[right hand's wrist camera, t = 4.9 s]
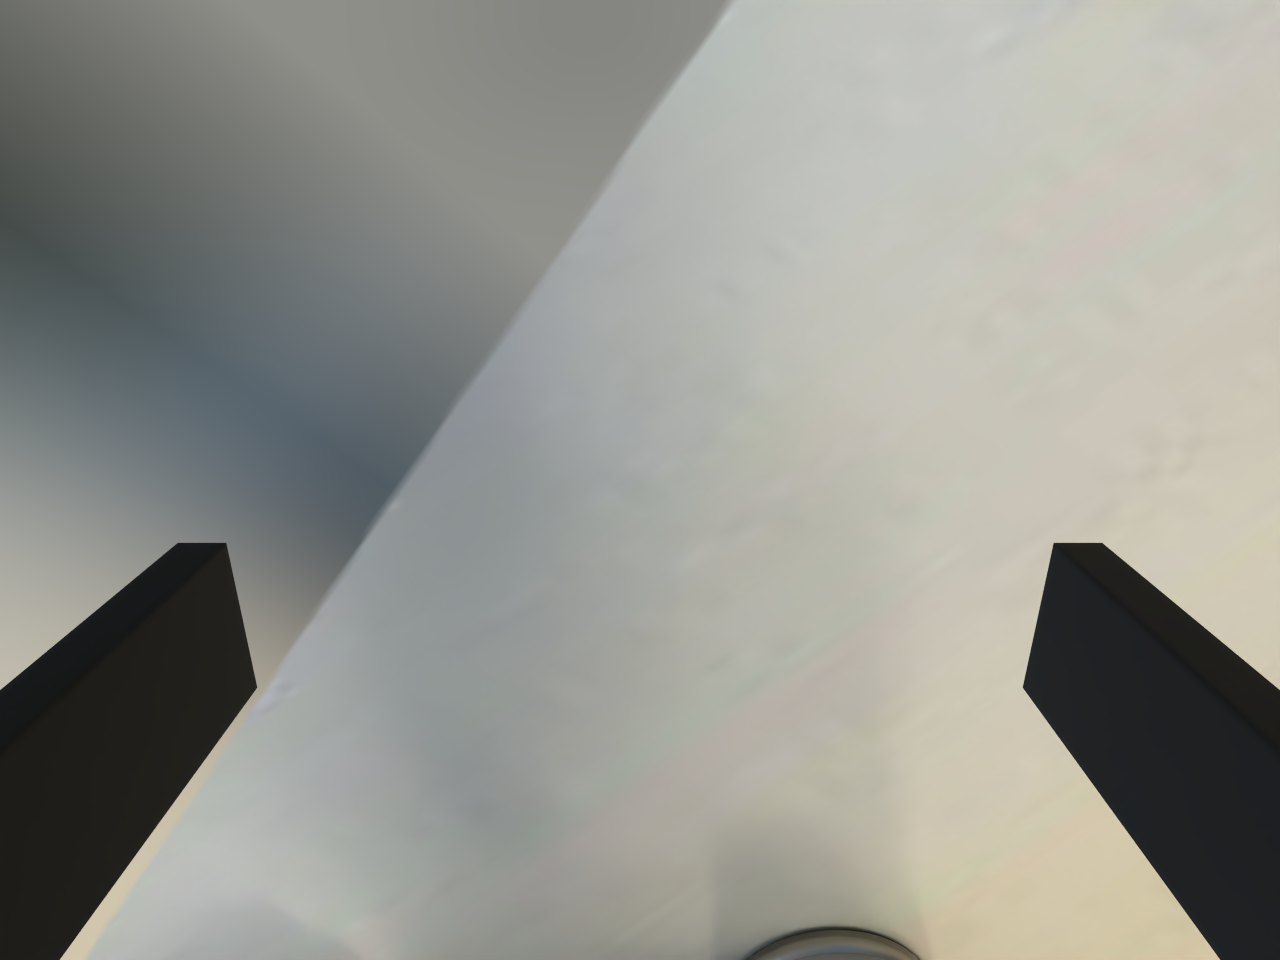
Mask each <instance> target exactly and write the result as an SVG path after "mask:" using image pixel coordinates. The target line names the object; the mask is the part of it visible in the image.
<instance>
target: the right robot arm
mask: <svg viewBox="0 0 1280 960" xmlns="http://www.w3.org/2000/svg"><path fill="white" fill-rule="evenodd" d="M256 688H257V685H256V680H255V675H254V671H253V666H252V661H251V657H250V652H249V647H248V643H247V638H246V633H245V629H244V624H243V619H242V615H241V610H240V605H239V600H238V596H237V591H236V586H235V582H234V577H233V572H232V568H231V563H230V558H229V554H228V549H227V544H226V543H177V544H176V545H175V546H174V547H172V548H171V549H170V550H169V551H168V552H166V553H165V554H164V555H163V556H162V557H160V558H159V559H158V560H157V561H156V562H154V563H153V564H152V565H151V566H150V567H148V568H147V569H146V570H145V571H144V572H142V573H141V574H140V575H139V576H137V577H136V578H135V579H134V580H133V581H131V582H130V583H129V584H128V585H127V586H125V587H124V588H123V589H122V590H121V591H119V592H118V593H117V594H116V595H115V596H113V597H112V598H111V599H110V600H108V601H107V602H106V603H105V604H104V605H102V606H101V607H100V608H99V609H98V610H96V611H95V612H94V613H93V614H92V615H90V616H89V617H88V618H87V619H86V620H84V621H83V622H82V623H81V624H79V625H78V626H77V627H76V628H75V629H74V630H72V631H71V632H70V633H69V634H67V635H66V636H65V637H64V638H63V639H61V640H60V641H59V642H58V643H57V644H55V645H54V646H53V647H52V648H51V649H49V650H48V651H47V652H46V653H45V654H43V655H42V656H41V657H40V658H39V659H37V660H36V661H35V662H34V663H32V664H31V665H30V666H29V667H28V668H26V669H25V670H24V671H23V672H22V673H20V674H19V675H18V676H17V677H16V678H14V679H13V680H12V681H11V682H10V683H8V684H7V685H6V686H5V687H3V688H2V689H1V690H0V960H60V958H61V957H62V956H63V954H64V953H65V952H66V950H67V949H68V947H69V946H70V945H71V943H72V942H73V941H74V939H75V938H76V936H77V935H78V934H79V932H80V931H81V929H82V928H83V927H84V925H85V924H86V923H87V921H88V920H89V919H90V917H91V916H92V914H93V913H94V912H95V910H96V909H97V908H98V906H99V905H100V903H101V902H102V901H103V899H104V898H105V897H106V895H107V894H108V892H109V891H110V890H111V888H112V887H113V885H114V884H115V883H116V881H117V880H118V879H119V877H120V876H121V874H122V873H123V872H124V870H125V869H126V868H127V866H128V865H129V863H130V862H131V861H132V859H133V858H134V857H135V855H136V854H137V852H138V851H139V850H140V848H141V847H142V846H143V844H144V843H145V841H146V840H147V839H148V837H149V836H150V835H151V833H152V832H153V830H154V829H155V828H156V826H157V825H158V823H159V822H160V821H161V819H162V818H163V817H164V815H165V814H166V812H167V811H168V810H169V808H170V807H171V806H172V804H173V803H174V801H175V800H176V799H177V797H178V796H179V795H180V793H181V792H182V790H183V789H184V788H185V786H186V785H187V784H188V782H189V781H190V779H191V778H192V777H193V775H194V774H195V773H196V771H197V770H198V768H199V767H200V766H201V764H202V763H203V762H204V760H205V759H206V757H207V756H208V755H209V753H210V752H211V750H212V749H213V748H214V746H215V745H216V744H217V742H218V741H219V739H220V738H221V737H222V735H223V734H224V733H225V731H226V730H227V728H228V727H229V726H230V724H231V723H232V722H233V720H234V719H235V717H236V716H237V715H238V713H239V712H240V710H241V709H242V708H243V706H244V705H245V704H246V702H247V701H248V700H249V698H250V697H251V695H252V694H253V693H254V691H255V690H256ZM1023 688H1024V690H1025V691H1026V693H1027V694H1028V695H1029V697H1030V698H1031V700H1032V701H1033V702H1034V704H1035V705H1036V706H1037V708H1038V709H1039V711H1040V712H1041V713H1042V715H1043V716H1044V717H1045V719H1046V720H1047V722H1048V723H1049V724H1050V726H1051V727H1052V728H1053V730H1054V731H1055V733H1056V734H1057V735H1058V737H1059V738H1060V739H1061V741H1062V742H1063V744H1064V745H1065V746H1066V748H1067V749H1068V750H1069V752H1070V753H1071V755H1072V756H1073V757H1074V759H1075V760H1076V762H1077V763H1078V764H1079V766H1080V767H1081V768H1082V770H1083V771H1084V773H1085V774H1086V775H1087V777H1088V778H1089V779H1090V781H1091V782H1092V784H1093V785H1094V786H1095V788H1096V789H1097V790H1098V792H1099V793H1100V795H1101V796H1102V797H1103V799H1104V800H1105V801H1106V803H1107V804H1108V806H1109V807H1110V808H1111V810H1112V811H1113V812H1114V814H1115V815H1116V817H1117V818H1118V819H1119V821H1120V822H1121V823H1122V825H1123V826H1124V828H1125V829H1126V830H1127V832H1128V833H1129V835H1130V836H1131V837H1132V839H1133V840H1134V841H1135V843H1136V844H1137V846H1138V847H1139V848H1140V850H1141V851H1142V852H1143V854H1144V855H1145V857H1146V858H1147V859H1148V861H1149V862H1150V863H1151V865H1152V866H1153V868H1154V869H1155V870H1156V872H1157V873H1158V874H1159V876H1160V877H1161V879H1162V880H1163V881H1164V883H1165V884H1166V885H1167V887H1168V888H1169V890H1170V891H1171V892H1172V894H1173V895H1174V897H1175V898H1176V899H1177V901H1178V902H1179V903H1180V905H1181V906H1182V908H1183V909H1184V910H1185V912H1186V913H1187V914H1188V916H1189V917H1190V919H1191V920H1192V921H1193V923H1194V924H1195V925H1196V927H1197V928H1198V930H1199V931H1200V932H1201V934H1202V935H1203V936H1204V938H1205V939H1206V941H1207V942H1208V943H1209V945H1210V946H1211V947H1212V949H1213V950H1214V952H1215V953H1216V954H1217V956H1218V957H1219V959H1220V960H1280V690H1279V689H1278V688H1277V687H1275V686H1274V685H1273V684H1272V683H1271V682H1269V681H1268V680H1267V679H1266V678H1264V677H1263V676H1262V675H1261V674H1260V673H1258V672H1257V671H1256V670H1255V669H1254V668H1252V667H1251V666H1250V665H1249V664H1248V663H1246V662H1245V661H1244V660H1243V659H1242V658H1240V657H1239V656H1238V655H1237V654H1236V653H1234V652H1233V651H1232V650H1231V649H1229V648H1228V647H1227V646H1226V645H1225V644H1223V643H1222V642H1221V641H1220V640H1219V639H1217V638H1216V637H1215V636H1214V635H1213V634H1211V633H1210V632H1209V631H1208V630H1207V629H1205V628H1204V627H1203V626H1202V625H1200V624H1199V623H1198V622H1197V621H1196V620H1194V619H1193V618H1192V617H1191V616H1190V615H1188V614H1187V613H1186V612H1185V611H1184V610H1182V609H1181V608H1180V607H1179V606H1178V605H1176V604H1175V603H1174V602H1173V601H1172V600H1170V599H1169V598H1168V597H1167V596H1165V595H1164V594H1163V593H1162V592H1161V591H1159V590H1158V589H1157V588H1156V587H1155V586H1153V585H1152V584H1151V583H1150V582H1149V581H1147V580H1146V579H1145V578H1144V577H1143V576H1141V575H1140V574H1139V573H1138V572H1137V571H1135V570H1134V569H1133V568H1132V567H1130V566H1129V565H1128V564H1127V563H1126V562H1124V561H1123V560H1122V559H1121V558H1120V557H1118V556H1117V555H1116V554H1115V553H1114V552H1112V551H1111V550H1110V549H1109V548H1108V547H1106V546H1105V545H1104V544H1103V543H1054V544H1053V549H1052V554H1051V558H1050V563H1049V568H1048V572H1047V577H1046V582H1045V586H1044V591H1043V596H1042V600H1041V605H1040V610H1039V615H1038V619H1037V624H1036V629H1035V633H1034V638H1033V643H1032V647H1031V652H1030V657H1029V661H1028V666H1027V671H1026V675H1025V680H1024V685H1023ZM747 960H919V959H918V958H917V957H916V956H915V955H913V954H912V953H911V952H910V951H908V950H907V949H906V948H904V947H902V946H901V945H899V944H897V943H895V942H893V941H891V940H889V939H886V938H883V937H880V936H877V935H873V934H870V933H864V932H859V931H850V930H823V931H814V932H808V933H803V934H799V935H795V936H791V937H788V938H785V939H782V940H780V941H777V942H775V943H773V944H771V945H769V946H767V947H765V948H763V949H761V950H760V951H758V952H756V953H755V954H754V955H752V956H751V957H749V958H748V959H747Z"/></svg>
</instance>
